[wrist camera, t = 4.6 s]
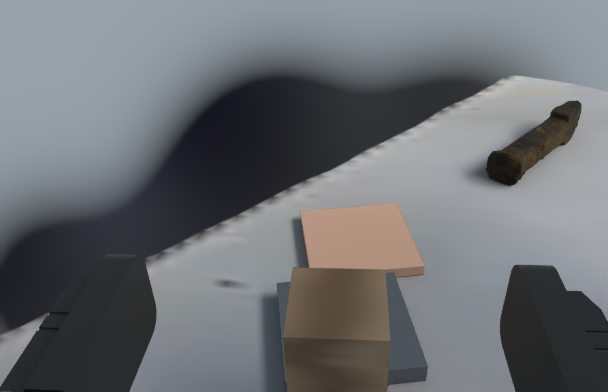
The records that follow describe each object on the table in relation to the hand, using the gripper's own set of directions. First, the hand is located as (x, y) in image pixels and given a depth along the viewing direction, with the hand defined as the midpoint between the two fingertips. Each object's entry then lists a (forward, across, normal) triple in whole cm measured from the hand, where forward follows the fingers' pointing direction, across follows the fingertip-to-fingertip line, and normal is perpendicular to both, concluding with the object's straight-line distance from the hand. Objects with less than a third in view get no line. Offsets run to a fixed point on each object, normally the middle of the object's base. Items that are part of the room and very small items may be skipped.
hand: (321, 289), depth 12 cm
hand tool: (+51, -23, +24) cm, 61 cm away
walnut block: (+11, 0, +24) cm, 26 cm away
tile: (+32, -1, +24) cm, 40 cm away
